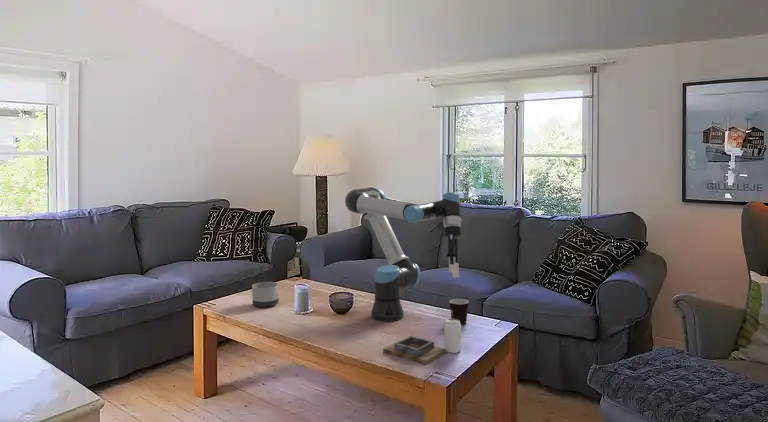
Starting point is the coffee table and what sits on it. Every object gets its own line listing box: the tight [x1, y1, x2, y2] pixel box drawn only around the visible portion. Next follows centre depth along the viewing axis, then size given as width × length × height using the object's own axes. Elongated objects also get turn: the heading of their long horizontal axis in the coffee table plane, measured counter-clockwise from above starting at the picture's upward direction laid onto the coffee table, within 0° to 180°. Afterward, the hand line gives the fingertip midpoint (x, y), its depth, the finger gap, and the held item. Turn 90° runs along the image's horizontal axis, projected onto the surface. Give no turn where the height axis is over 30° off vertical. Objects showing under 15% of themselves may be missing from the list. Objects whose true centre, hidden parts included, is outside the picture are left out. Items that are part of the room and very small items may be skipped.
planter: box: [251, 281, 280, 308], centre depth 278 cm, size 13×13×10 cm
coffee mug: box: [448, 298, 470, 326], centre depth 249 cm, size 12×9×10 cm
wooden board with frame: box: [382, 335, 447, 365], centre depth 213 cm, size 20×14×4 cm
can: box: [443, 318, 462, 354], centre depth 215 cm, size 6×6×12 cm
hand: (454, 275), depth 237 cm, fingers open, 13 cm apart
